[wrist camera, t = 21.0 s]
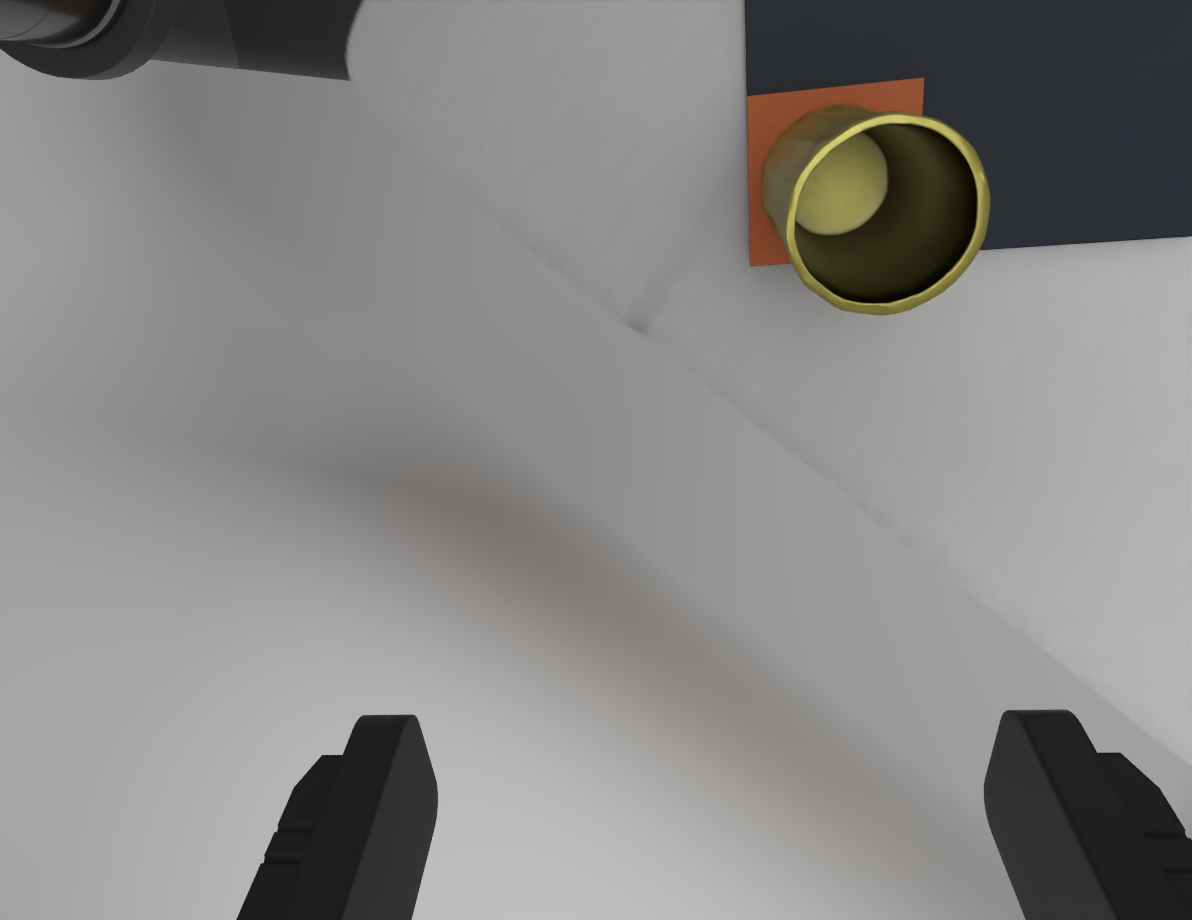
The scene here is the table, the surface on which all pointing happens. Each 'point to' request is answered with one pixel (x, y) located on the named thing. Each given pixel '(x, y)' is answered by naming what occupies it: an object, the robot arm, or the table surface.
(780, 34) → the mat
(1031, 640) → the table surface
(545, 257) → the table surface
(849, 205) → the vase
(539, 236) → the table surface
